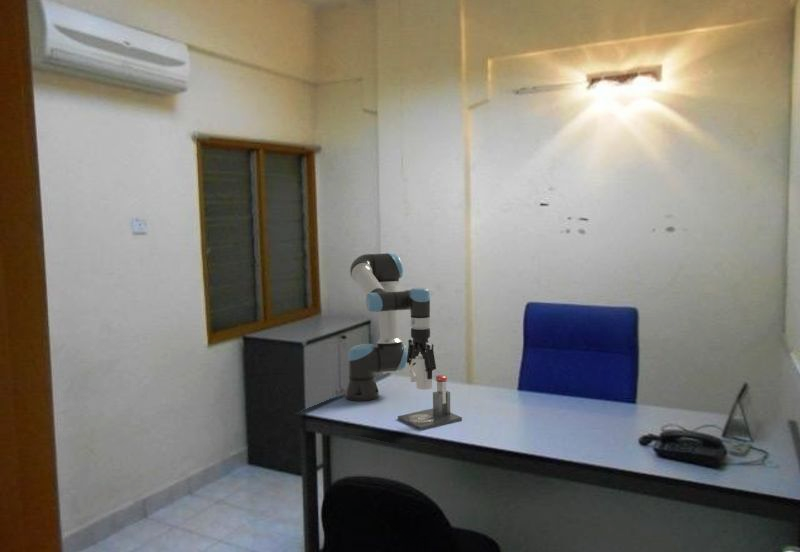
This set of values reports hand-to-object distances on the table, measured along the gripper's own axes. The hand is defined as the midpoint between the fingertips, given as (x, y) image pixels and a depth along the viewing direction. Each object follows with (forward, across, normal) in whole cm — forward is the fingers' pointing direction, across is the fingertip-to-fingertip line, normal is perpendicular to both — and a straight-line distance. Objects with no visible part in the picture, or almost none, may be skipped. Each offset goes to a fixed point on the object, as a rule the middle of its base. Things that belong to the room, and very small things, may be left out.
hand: (421, 384), depth 237 cm
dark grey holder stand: (+15, 0, +4) cm, 16 cm away
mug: (+1, 0, 0) cm, 1 cm away
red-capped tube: (+9, 0, +10) cm, 14 cm away
